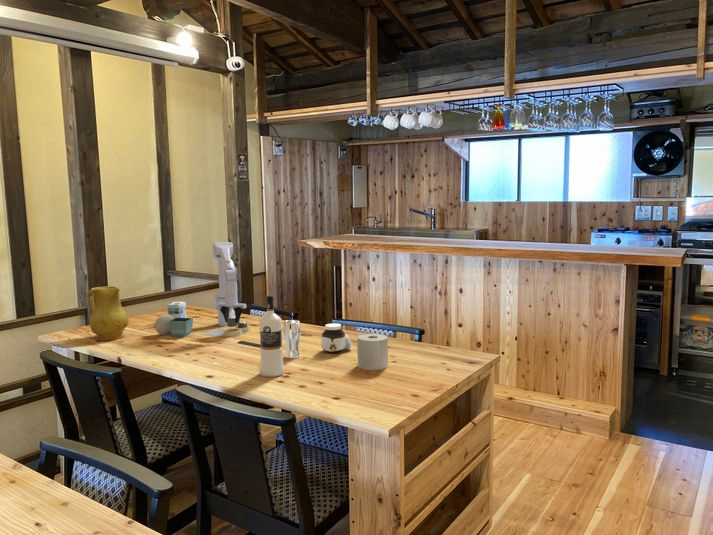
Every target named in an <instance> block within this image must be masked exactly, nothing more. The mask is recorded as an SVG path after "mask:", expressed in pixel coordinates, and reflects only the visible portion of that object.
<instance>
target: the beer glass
mask: <svg viewBox="0 0 713 535" xmlns="http://www.w3.org/2000/svg"><path fill="white" fill-rule="evenodd" d="M283 338H284V339H283V340H284V344H285V355H284V357H285V358H286V359H290V360H291V359H298V358H300V356H301V354H300V348H299V347H300V346H299V345H300V339H301V324H300V320H297V319H287V320H285V321H283Z"/></svg>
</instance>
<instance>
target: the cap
mask: <svg viewBox="0 0 713 535" xmlns="http://www.w3.org/2000/svg"><path fill="white" fill-rule="evenodd" d="M236 326H238V323H236V318H235V317H228V318H227V326H226V327H228V328H235V327H236Z"/></svg>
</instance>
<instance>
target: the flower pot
mask: <svg viewBox="0 0 713 535" xmlns="http://www.w3.org/2000/svg"><path fill="white" fill-rule="evenodd" d="M193 322H194V318H193V317H187V318H174V319H172V320H170V321H169V326H170V331H171V333H170V334H171V335H172V337H173V338H186V337H187V336H189V335H191V332H192V329H193V324H194V323H193Z"/></svg>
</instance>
